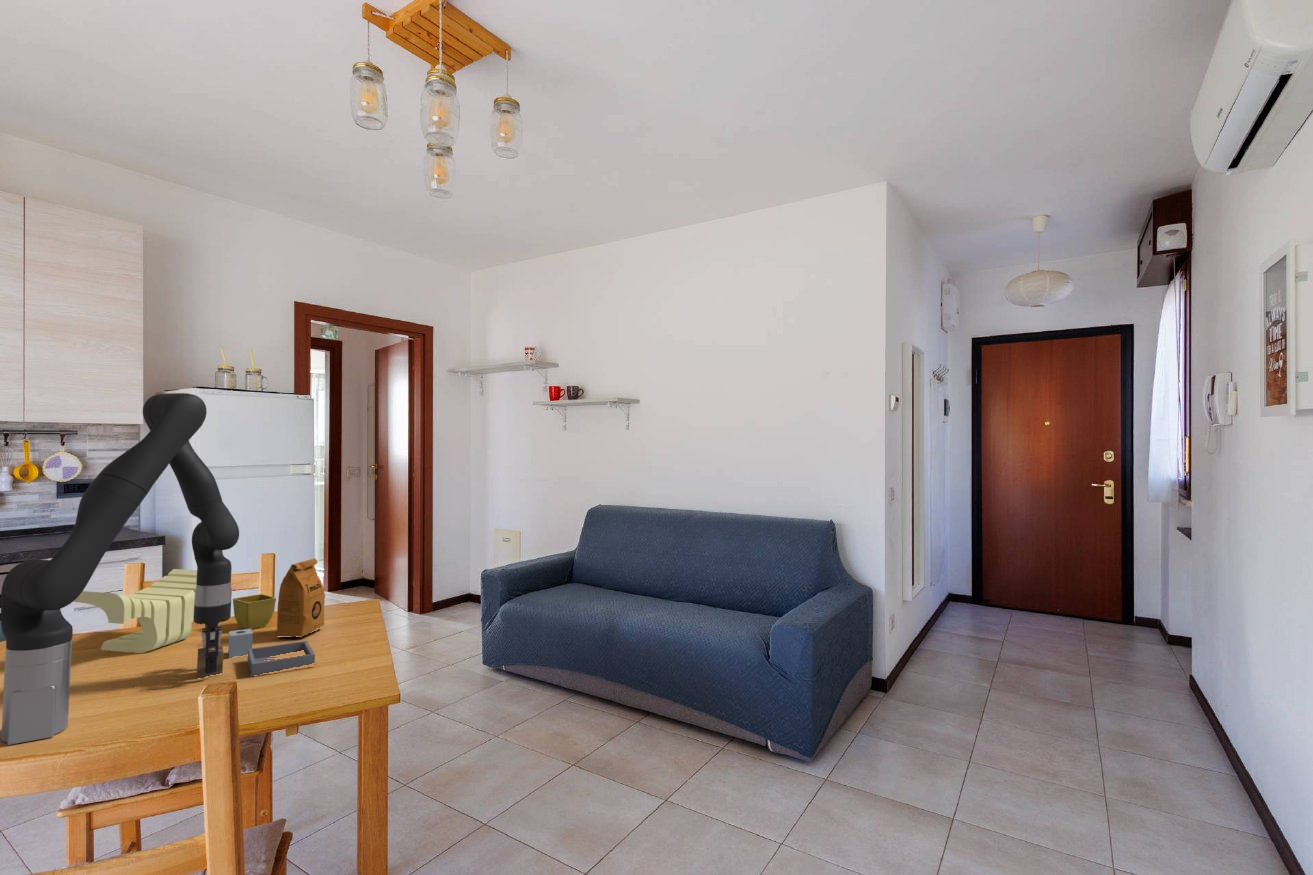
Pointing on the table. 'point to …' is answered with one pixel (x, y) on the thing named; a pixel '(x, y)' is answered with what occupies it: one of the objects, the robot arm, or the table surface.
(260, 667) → the tray
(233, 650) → the slate block
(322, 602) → the coffee package
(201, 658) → the walnut block
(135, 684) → the table surface
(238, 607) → the flower pot
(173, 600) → the slatted curved stool
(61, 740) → the table surface
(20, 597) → the robot arm
